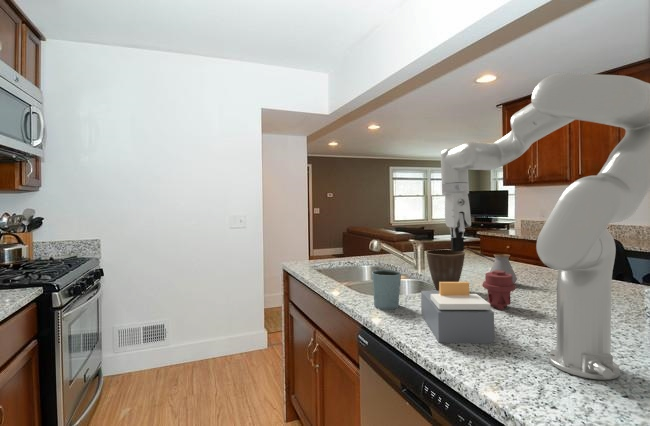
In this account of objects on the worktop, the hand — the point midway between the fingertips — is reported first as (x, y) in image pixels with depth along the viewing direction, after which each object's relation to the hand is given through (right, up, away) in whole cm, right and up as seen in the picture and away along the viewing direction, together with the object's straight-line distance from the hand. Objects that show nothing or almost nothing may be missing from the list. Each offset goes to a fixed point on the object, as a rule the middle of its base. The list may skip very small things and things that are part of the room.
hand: (457, 250), depth 104 cm
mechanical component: (+20, -21, +15) cm, 33 cm away
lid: (-3, -14, -8) cm, 16 cm away
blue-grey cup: (-18, -22, +19) cm, 34 cm away
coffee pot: (+34, -20, +50) cm, 64 cm away
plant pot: (+10, -21, +38) cm, 44 cm away
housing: (-2, -22, -3) cm, 22 cm away
